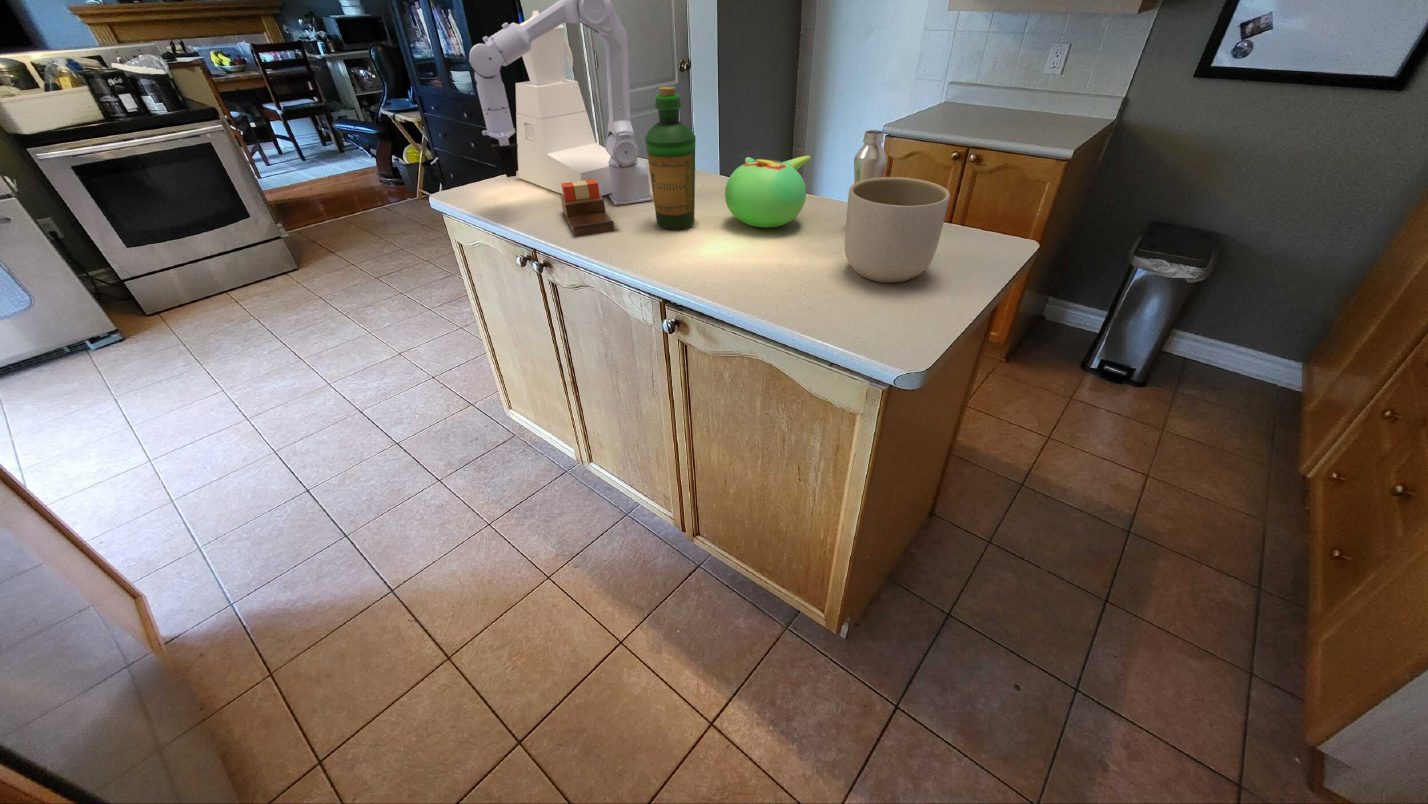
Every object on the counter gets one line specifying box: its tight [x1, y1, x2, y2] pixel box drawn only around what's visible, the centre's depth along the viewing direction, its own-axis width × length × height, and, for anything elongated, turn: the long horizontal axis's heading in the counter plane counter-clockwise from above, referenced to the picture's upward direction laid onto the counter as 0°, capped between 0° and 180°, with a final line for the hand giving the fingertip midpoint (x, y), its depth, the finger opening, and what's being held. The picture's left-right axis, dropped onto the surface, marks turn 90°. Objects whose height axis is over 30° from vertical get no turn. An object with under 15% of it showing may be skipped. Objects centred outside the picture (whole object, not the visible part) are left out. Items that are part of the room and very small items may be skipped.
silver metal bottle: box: [853, 129, 888, 184], centre depth 120 cm, size 6×7×20 cm
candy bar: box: [561, 179, 600, 201], centre depth 134 cm, size 8×4×3 cm, turn 110°
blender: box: [515, 9, 612, 197], centre depth 147 cm, size 33×18×40 cm, turn 44°
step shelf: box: [559, 193, 615, 237], centre depth 133 cm, size 9×17×4 cm, turn 20°
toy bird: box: [724, 155, 812, 228], centre depth 126 cm, size 18×17×15 cm
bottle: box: [644, 86, 696, 231], centre depth 123 cm, size 11×11×28 cm
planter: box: [844, 176, 951, 284], centre depth 104 cm, size 17×17×15 cm
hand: (510, 172), depth 134 cm, fingers open, 7 cm apart
